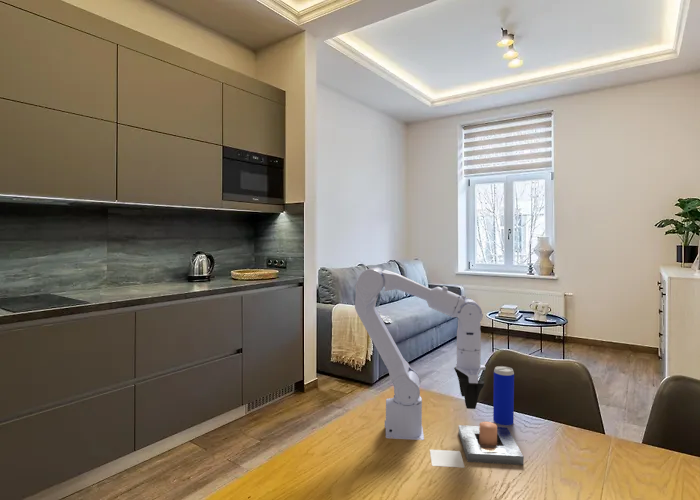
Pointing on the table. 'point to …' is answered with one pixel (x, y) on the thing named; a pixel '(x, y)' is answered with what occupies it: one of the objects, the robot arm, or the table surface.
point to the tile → (446, 458)
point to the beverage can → (503, 396)
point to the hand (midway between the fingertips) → (468, 401)
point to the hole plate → (490, 447)
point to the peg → (487, 433)
